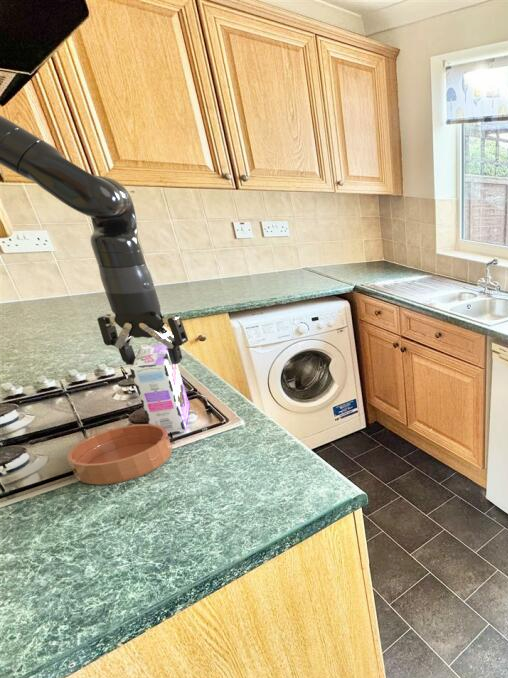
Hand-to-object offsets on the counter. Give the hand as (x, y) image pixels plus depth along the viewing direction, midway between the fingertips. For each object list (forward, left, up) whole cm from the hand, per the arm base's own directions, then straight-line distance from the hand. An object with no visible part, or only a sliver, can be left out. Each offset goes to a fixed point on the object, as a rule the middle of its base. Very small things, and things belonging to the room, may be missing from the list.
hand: (154, 363), depth 90 cm
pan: (0, -16, -14) cm, 22 cm away
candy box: (0, 0, -15) cm, 15 cm away
